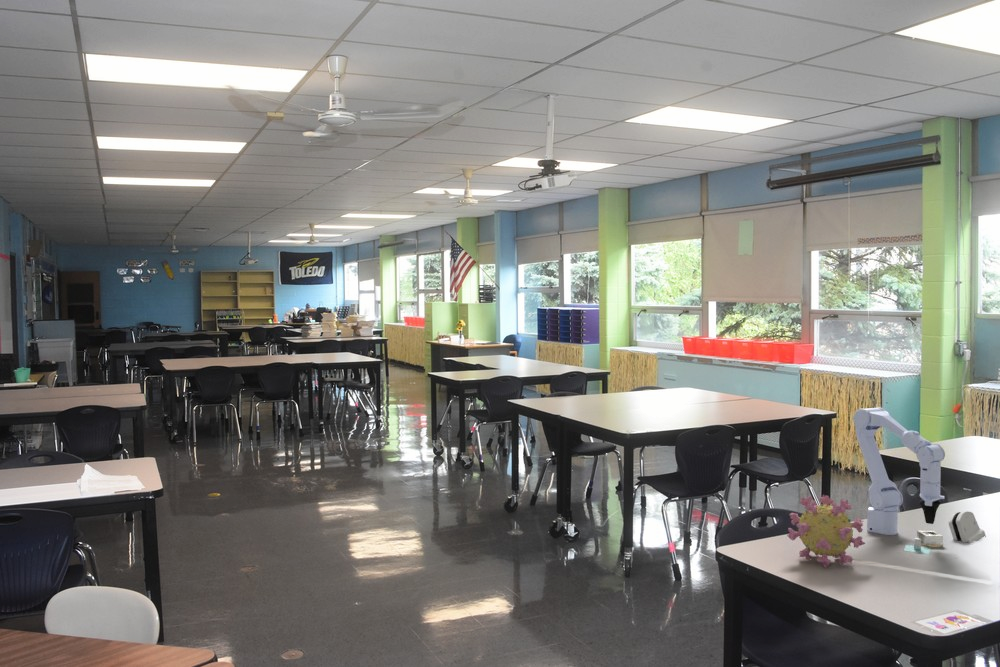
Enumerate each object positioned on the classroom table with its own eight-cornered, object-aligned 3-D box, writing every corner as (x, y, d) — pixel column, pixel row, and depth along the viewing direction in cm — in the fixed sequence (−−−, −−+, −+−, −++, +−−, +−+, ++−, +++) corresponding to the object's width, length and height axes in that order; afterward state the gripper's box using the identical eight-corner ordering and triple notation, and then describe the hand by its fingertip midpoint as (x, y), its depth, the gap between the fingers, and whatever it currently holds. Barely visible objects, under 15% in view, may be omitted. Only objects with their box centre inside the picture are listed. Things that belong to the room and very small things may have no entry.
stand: (903, 552, 245) (903, 540, 245) (906, 546, 251) (906, 534, 250) (928, 556, 241) (928, 543, 241) (930, 550, 247) (930, 537, 247)
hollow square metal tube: (925, 544, 249) (925, 535, 249) (917, 539, 255) (917, 530, 254) (943, 545, 249) (943, 535, 249) (934, 539, 254) (934, 530, 254)
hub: (917, 546, 251) (917, 535, 251) (919, 540, 256) (919, 530, 256) (941, 549, 247) (941, 538, 247) (943, 544, 253) (943, 533, 252)
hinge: (971, 546, 252) (960, 516, 254) (956, 548, 255) (945, 518, 257) (986, 535, 263) (975, 506, 265) (971, 537, 266) (961, 508, 268)
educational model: (791, 546, 253) (791, 487, 252) (866, 555, 243) (866, 494, 242) (783, 568, 232) (784, 503, 231) (865, 579, 222) (865, 512, 222)
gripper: (943, 487, 241) (942, 530, 241) (945, 478, 253) (945, 519, 253) (917, 485, 245) (917, 526, 245) (921, 476, 257) (921, 516, 257)
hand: (929, 522), depth 249 cm, fingers closed
